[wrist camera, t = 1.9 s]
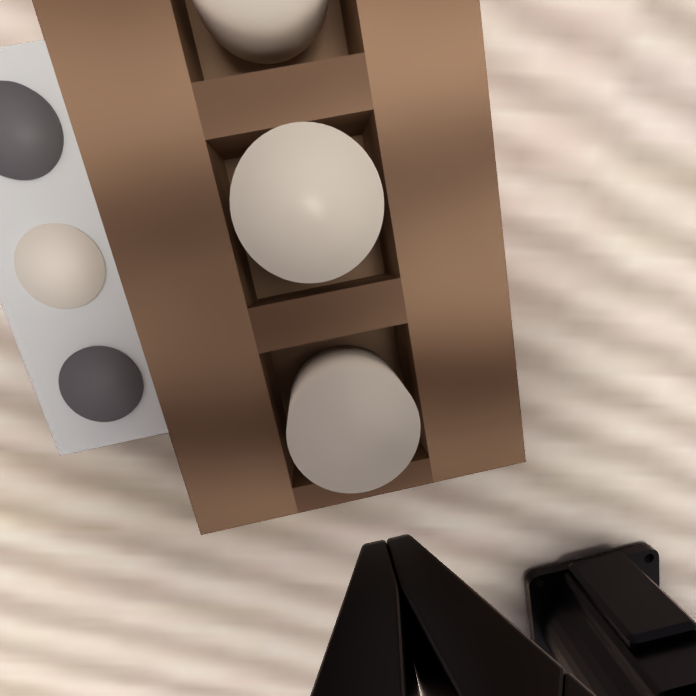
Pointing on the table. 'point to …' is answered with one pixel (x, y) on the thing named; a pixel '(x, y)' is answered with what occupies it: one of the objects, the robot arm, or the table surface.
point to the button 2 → (350, 420)
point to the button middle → (306, 202)
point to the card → (64, 271)
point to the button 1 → (263, 26)
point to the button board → (268, 289)
